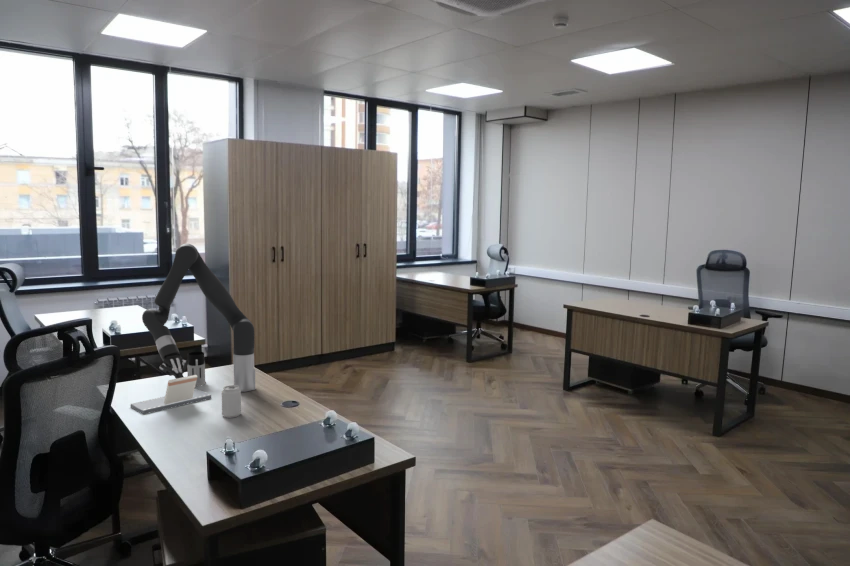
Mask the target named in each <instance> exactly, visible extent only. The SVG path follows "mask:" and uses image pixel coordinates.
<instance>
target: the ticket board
mask: <svg viewBox="0 0 850 566" xmlns="http://www.w3.org/2000/svg"><path fill="white" fill-rule="evenodd" d="M164 399H165V395H164V396H160V397H156V398H151V399H147V400H142V401H138V402H133V403H130V408H131V409H133V410H135V411H136V410H137V412H138V411H139V412H138V413H140V412H141V413H140V414H142V415H145V414H150V413H149V412H151V413H155V412H158V410H159V411H162V409H163V410H167V408H168V409H172V408H175V406H176V407H180V406H184V405H183V404H185V405H188V404H187V403H189V404H192V403H191V402H193V403H197V402H196V401H198V402H201V400H202V401H205V399H206V400H210V399H212V394H210V393H208V392H206V391H203V390H201V389H198V388H196V389H194V393H193V398H192V399H187V400H183V401H179V402H174V403H170V404H164ZM179 405H180V406H179ZM171 407H172V408H171ZM154 411H155V412H154Z"/></svg>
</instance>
